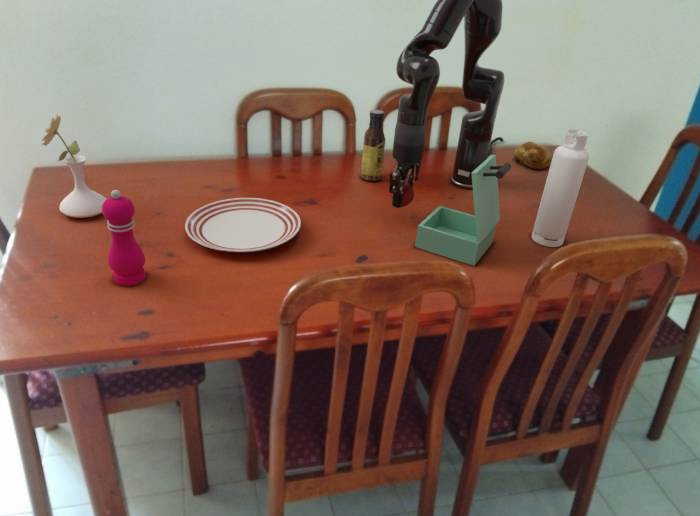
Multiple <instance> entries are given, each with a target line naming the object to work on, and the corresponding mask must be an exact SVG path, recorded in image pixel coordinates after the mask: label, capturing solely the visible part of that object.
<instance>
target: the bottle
mask: <svg viewBox="0 0 700 516" xmlns="http://www.w3.org/2000/svg"><path fill="white" fill-rule="evenodd" d="M577 134H578V135H577ZM579 134H583V135H579ZM588 137H589V133H588V132H586V131H584V130H581V129H574V128H572V129H568V130H566V134H565V137H564V142H563V144H561V145H559V146H557V147H556V148H555V149H554V151H553V153H552V156H551V162H550V164H549V169H548V173H547V176H546V181H545V184H544V188H543V192H542V195H541V198H540V203H539V206H538V210H537V214H536V218H535V221H534V224H533V229H532V232H531V235H530V237H531V239H532V241H533V242H535V244H539V245H541V246H544V247H549V248H558V247H562V246H563V244H564V242H565V239H566V235H567V232H568V228H569V225H570V222H571V218H572V216H573V212H574V209H575V206H576V202H577V199H578V195H579V192H580V189H581V187H582V182H583V179H584V177H585V172H586V169H587V167H588V163H589V160H590V154H589V151H587V149H586V148H585V147H586V144H587V140H588Z"/></svg>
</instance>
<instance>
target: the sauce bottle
mask: <svg viewBox="0 0 700 516" xmlns="http://www.w3.org/2000/svg"><path fill="white" fill-rule="evenodd" d="M384 118H385V112H384V111H383V110H380V109H371V110H369V124H368V126H369V127H368V128H367V130H366V131H365V133H364V136H363V144H362V157H361V168H360V170H361V171H360V177H361V178H362V179H363V180H364V181H368V182H377V181H380V180H381V179H382V174H383V167H384V158H385V157H384V155H385V149H386V148H385V146H386V135H385V133H384V128H383V127H384V126H383V124H384V123H383V122H384Z"/></svg>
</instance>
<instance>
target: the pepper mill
mask: <svg viewBox="0 0 700 516" xmlns="http://www.w3.org/2000/svg"><path fill="white" fill-rule="evenodd" d="M135 211H136V210H135V205H134V203H133V201H132V200H131V198H128V197H126V196H124V195H122V193H121V191H119V190H118V189H113V190H112V191H111V192H110V197H108V198H106V200H105V201H104V203H103V205H102V213H101V214H102V216H103V217H104V219H105V220H107V221H106V225H107V229H108V230H109V231H110V233H111V246H110V249H109V250H108V251H109V252H108V256H107V265H108V267H109V268H110V270H112V276H113V277H112V278H113V281H114V283H115V284H117V285H119V286H123V287H124V286H126V287H131V286H136V285H139V284H140V283H142V282H143V281H144V280H145V279H146V273H145V267H144V266H145V263H146V256H145V253H144V251H143V249H142V247H141V246H140V244H139V243H138V242H137V241H136V238H135V235H134V231H133V230H134V227H135V221H134V218H133V217H134V215H135Z"/></svg>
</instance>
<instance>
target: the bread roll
mask: <svg viewBox="0 0 700 516" xmlns="http://www.w3.org/2000/svg"><path fill="white" fill-rule="evenodd" d="M513 157H514V158H515V160H516V161H518V162H520V164H522V165H523V166H524V167H527V168H529V169H532V170H543V169H545V168H547V167H549V166H550V165H551V161H552V153H551V151H550V150H549V148H547V147H546V146H544V145H538V144H537V143H536V142H533V141H526V142H524V143H521V144H520V146H519V147H518V148H516V149H515V150H514V153H513Z"/></svg>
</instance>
